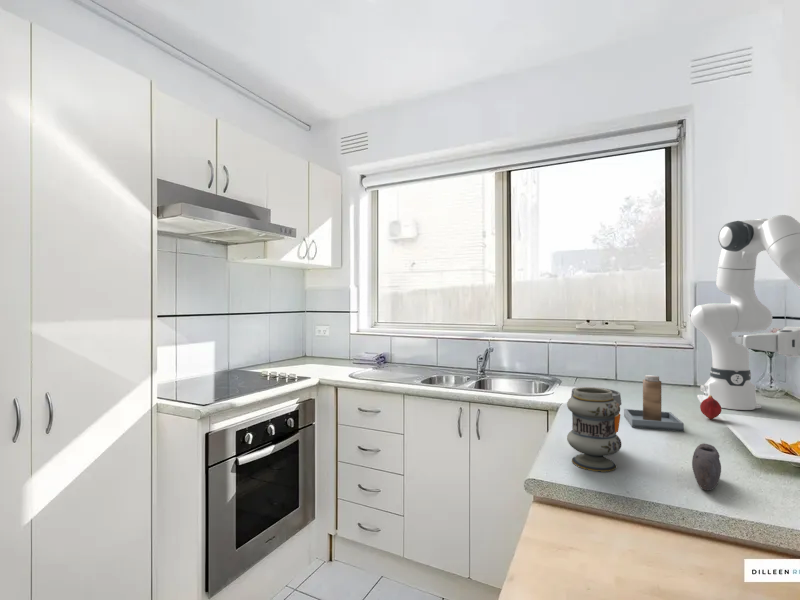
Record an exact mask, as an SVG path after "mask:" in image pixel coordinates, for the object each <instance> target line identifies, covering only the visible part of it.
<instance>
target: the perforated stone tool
mask: <svg viewBox="0 0 800 600" xmlns="http://www.w3.org/2000/svg"><path fill="white" fill-rule="evenodd" d="M691 466H692V470H693V471H692V472H693V475H694V478H695V481H696V482H697V484H698V486H699V487H700V488H701V489H702V490H705V491H711V490H713V489H714V488H716V487H717V485H718V483H719V481H720V478H721V475H722V474H721V473H722V465H721V459H720V453H719V451H718V450H717V448H716V447H715V446H714V445H711V444H708V443H700V444H699V445H698V446H697V447H695V450H694V452H693V455H692V459H691Z"/></svg>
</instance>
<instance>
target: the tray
mask: <svg viewBox="0 0 800 600" xmlns="http://www.w3.org/2000/svg"><path fill="white" fill-rule="evenodd" d="M623 417H624V418H625V420H626V421H627V422H628V424H629V425H630V426H631V428H637V429H645V430H646V429H649V430H661V431H669V432H670V431H672V432H681V433H682V432H685V429H684V427H685V424H684V422H683V421H682V420H681V419H679V418H678V416H676V415H675V414H674V413H672V412H670V411H661V421H654V420H643V409H632V408H631V409H630V408H624V409H623Z"/></svg>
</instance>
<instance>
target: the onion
mask: <svg viewBox="0 0 800 600" xmlns="http://www.w3.org/2000/svg"><path fill="white" fill-rule="evenodd" d="M699 408H700V412H701V413H702V414H703V415H704V416H705V417H706V418H707V419H709V420H713V419H715V418H717V417H718V416H720V415H721V413H722V408H721V406H720V404H719V403H718V402H717V401H716V400H715V399H713V397H712V396H711V395H709V397H708V398H707V399H705V400H703V401H702V403H700V406H699ZM719 414H720V415H719Z"/></svg>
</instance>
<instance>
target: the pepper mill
mask: <svg viewBox="0 0 800 600" xmlns="http://www.w3.org/2000/svg"><path fill="white" fill-rule="evenodd" d="M642 410H643V420H654V421H661V412H662V381H661V380H660V376H658V375H651V374H645V375H644V379H642Z"/></svg>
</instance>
